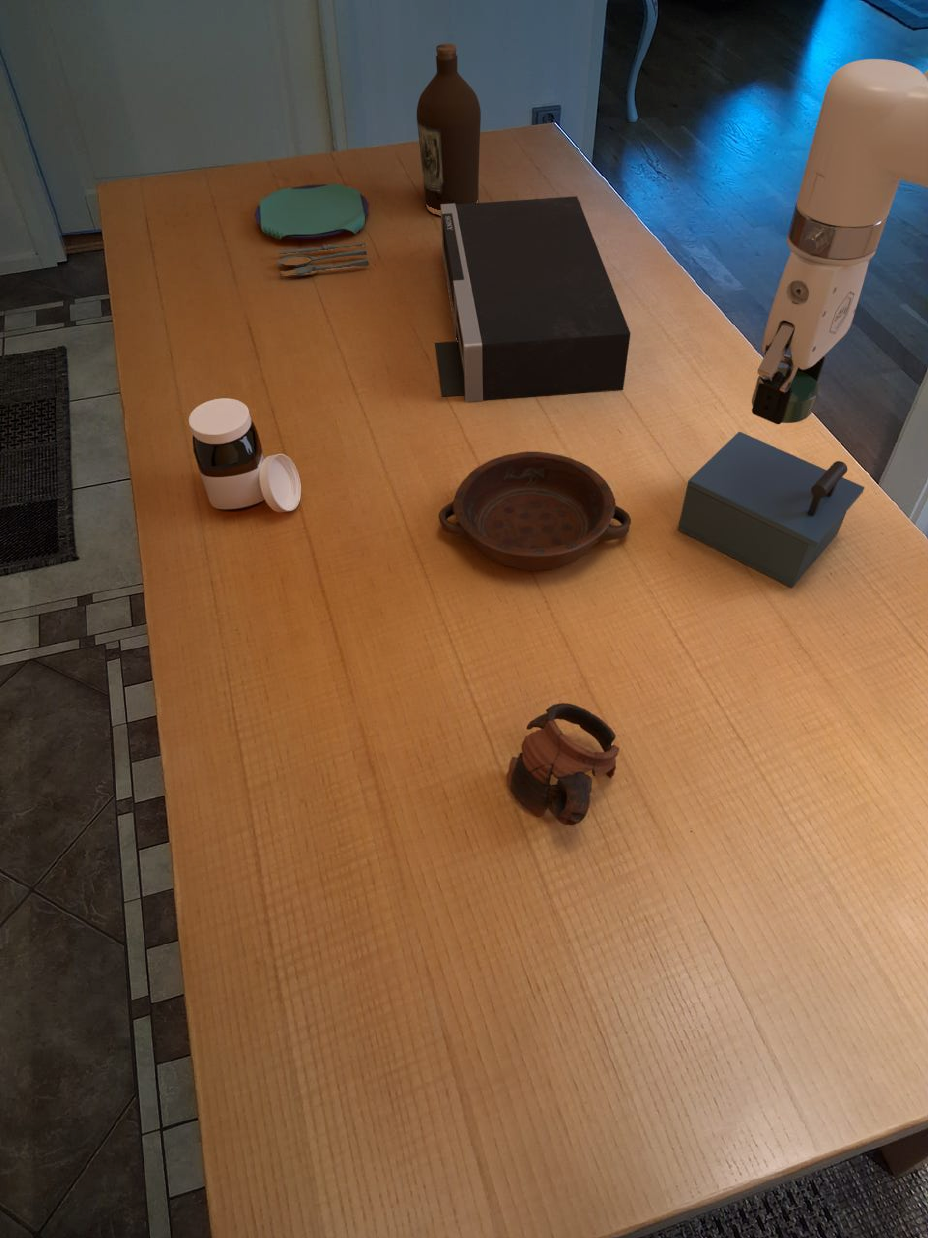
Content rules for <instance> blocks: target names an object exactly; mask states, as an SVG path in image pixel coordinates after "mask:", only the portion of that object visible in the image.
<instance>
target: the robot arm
mask: <svg viewBox="0 0 928 1238" xmlns="http://www.w3.org/2000/svg"><path fill="white" fill-rule="evenodd" d="M817 118H818V119H817V121H816V125H815V130H814V132H813V137H812V139H811V140H812V141H811V143H810V144H811V145H810V148H809V152H808V156H807V160H806V163H805V167H804V170H803V171H804V172H803V175H802V179H801V182H800V186H799V191H798V194H797V198H796V202H795V206H794V209H793V213H792V217H791V221H790V225H789V230H788V233H787V236H786V245H787V246H788V248H789V249H790V253H789V256H788V258H787V261H786V264H785V266H784V269H783V271H782V275H781V278H780V281H779V284H778V286H777V290H776V292H775V295H774V298H773V302H772V304H771V309H770V311H769V315H768V319H767V323H766V326H765V330H764V332H763V333H764V334H763V338H762V342H761V343H762V344H761V350H762V353H763V354H764V357H763V359H762V360H761V362H760V364H759V367H758V368H757V374H758V377H759V376H760V378H759V386H758V390H757V393H756V397H755V401H754V404H753V405H752V407H751V413H752V414H753V415H755V416H757V417H759V418H761V419H764V420H766V421H768V422H770V423H773V424H776V425H780V424H782V423H781V422H782V421H783V420H784V417H785V414H786V410H787V407H788V404H789V401H790V397H791V394H792V391H793V389H791V388H790V385H791V383H792V381H793V378H794V376H795V374H796V372H797V370H800V371H802V372H805V373H807V374H808V375H810V376H811V377H813V378H814V379H815V381H816V382H817V383H818V382H819V378H820V375H821V372H822V370H823V366H824V363H825V361H826V354H827V353H829V351H831V350H832V349H833V347H835V346H836V344H838V343H839V342H840V340H841V339H842V338H844V336H846V334H847V333H848V331H849V329H850V328H851V326H852V322H853V319H854V316H855V314H856V310H857V306H858V304H859V300H860V296H861V293H862V289H863V286H864V283H865V279H866V275H867V272H868V267H869V264H870V260H871V259H872V258H873V257H874V255H875V254H876V251H877V248H878V246H879V243H880V240H881V237H882V235H883V231H884V228H885V226H886V223H887V219H888V217H889V214H890V211H891V209H892V206H893V202H894V199H895V196H896V194H897V191H898V187H899V184H900V182H901V181H904V182H907V183H910V184H915V185H919V186H922V187H926V188H928V69H927V70H926V71H925V72H924V73H923V72H922V71H921V70H919V68H916V67H915V66H912V65H910V64H908V63H905V62H901V61H897V60H893V59H892V60H891V59H883V58H868V59H860V60H854V61H850V62H849V63H845V64H843V66H841V67H840V68H838V69H837V70H836V71H835V72H834V73H833V75H831V77H830V79H829V82H828V83H827V86H826V89H825V92H824V95H823V99H822V103H821V106H820V111H819V115H818V117H817ZM788 350H790V353H791V355H789V354H786V353H787V351H788ZM780 363H783V364H785V365H788V366H787V368H788V370H787V373H786V375H785V377H784V375H783V373H781V372H779V371H778V370H779V369H778V368H779V365H780Z"/></svg>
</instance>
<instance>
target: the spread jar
mask: <svg viewBox="0 0 928 1238" xmlns="http://www.w3.org/2000/svg"><path fill="white" fill-rule="evenodd" d="M188 424H189V427H190V430H191V433H192V449H193V454H194V457H195V462H196V464H197V468H198V471H199V474H200V477H201V480H202V483H203V486H204V490H205V493H206V495H207V498H208V501H209V504H210V505H211V506H212V508H214V509H215V510H217V511H219V512H225V513H240V512H241V513H242V512H247V511H249V510H252V509H254V508H257V507H259V506H260V505H263V504H264V503H266V504H267V505H268V506H269V507H270V509H271V510H273V511H274V512H276V513H287V512H291V511H294V510H295V509H297V507H298V506H299V503H300V501H301V498H302V484H301V478H300V474H299V471H298V469H297V467H296V465H295V462H293V460H292V459H291V458H290V457H289V456H287V455H285V454H283V453H278V454H277V453H276V454H272V455H268V456H266V457H265V455H264V451H263V447H262V442H261V439H260V435H259V432H258V429H257V426H256V424H255V422H254V421H253V420H252V418H251V414H250V410H249V408H248V406H247V405H246V404H245V403H244V402H242V401H240V400H238V399H233V398H228V397H226V398H224V397H222V398H215V399H211V400H208V401H207V400H206V401H205V402H203V403H201V404H199V405H198V406H196V407H195V408H194V409H193V410H192V412H191V413H190V414H189V417H188Z"/></svg>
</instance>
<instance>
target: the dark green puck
mask: <svg viewBox="0 0 928 1238" xmlns="http://www.w3.org/2000/svg"><path fill="white" fill-rule="evenodd" d="M778 369H779V370H778V371H779V372H781V373H783V375H784V377H785V375H786V373H787V370H788V367H785V366H784V367H778ZM759 378H760V376H759V375H758V377H757V379H756V383H755V386H754V390H753V394H752V399H751V406H753V404H754V401H755V397H756V393H757V390H758V386H759ZM790 388H791V389H793V391H792V394H791V397H790V401H789V404H788V407H787V410H786V414H785V417H784V420H783V421H782V422H781V423H780V424H782V423H783V424H793V423H794V424H795V423H800V422H802V421H804V420H806V419H808V418H809V417H810V416H811V414H812V413H813V410H814V406H815V404H816V400H817V397H818V395H819V392H820V391H819V390H820V386H819V384H818V382H816V381H815V379H814V378H813V377H811V376H810V375H808V374H807V373H805V372H802V371H800V370H797V372H796V374H795V376H794V378H793V381H792V383H791V385H790Z"/></svg>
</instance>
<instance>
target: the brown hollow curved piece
mask: <svg viewBox="0 0 928 1238" xmlns="http://www.w3.org/2000/svg"><path fill="white" fill-rule="evenodd" d="M545 711H546V713H543V714H540V715H538V716H536V717H535V718H534V719H532V720H530V721H529V722H528V724H527V726H526V730H527V731H530V730H532V729H534V728H535V729H537V728H538V730H536V731H534V732H531V733H530V734H527V735H526V736H524V739H523V741H522V743H521V752H520V753H519V755H518V756H512V757H511V758H510V761H509V766H508V770H507V774H506V781H507V785H508V788H509V790H510V792H511V794H512V796H513V797H514V799H515V800H516V801H517V802H518V804H520V805H521V806H522V807H523V808H524V809H525V810H527V811H528V812H530V813H531V814H534V815H536V816H537V817H540V818H542V817H543V815H544V814H545V812H546V811H547V809H548V811H549V813H551V814H552V815H553V816H554V818H555V820H557V822H559V823H560V824H561V825H562V826H570V827H571V826H572V827H573V826H576V825H577V824H580V823H581V822H582V821H583V820H584V818H585V817H586V816H587V813H588V811H589V809H590V799H591V798H590V797H591V795H590V794H591V793H592V791H593V788H592V787H593V786H592V785H593V780H592V777H591V776H590V775H588V774H587V772H590V771H591V774H592V776H593V777H595V778H597V777H599V776H602V775H606V776H607V778H608V779H612V778H613V777H614V775H615V771H616V769H617V760H616V757H618V756H619V752H620V747H619V746H617V745H616V744H613V742H614V741H615V739H616V737H617V736H616V734H615V732H614V730H612V728H611V727H610V726H609V725H608V724H607V722H605V721H604V720H603V719H602V718H601V717H600V716H599V717H598V716H597V714H594V713H592V712H591V711H589V710H587V709H585V708H583V707H581V706H578V705H576V704H572V703H567V702H566V703H565V702H559V703H555V704H553V705H551V706H550V707H548V708H546V709H545ZM556 720H563V721H565V722H568V723H571V724H573V725H577V726H579V728H580V729H581V730H583V731H584V732H586V733H587V734H589V735H590V736H592V737H593V738H594V739H595V740H596V741H597V742H598V744H599V745H600V747H601V749H602V751H592V750H590V749H587V748H586V747H583V746H581V745H579V744H578V743H576V742H575V741H573V740H572V739H570V738H569V737H568V736H567V735H565V734H564V733H563V731H562V730H561V729H560V727H559V726H558V723H557V721H556ZM552 776H553V777H554V778H555V779H557V780H556V784H551V777H552Z"/></svg>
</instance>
